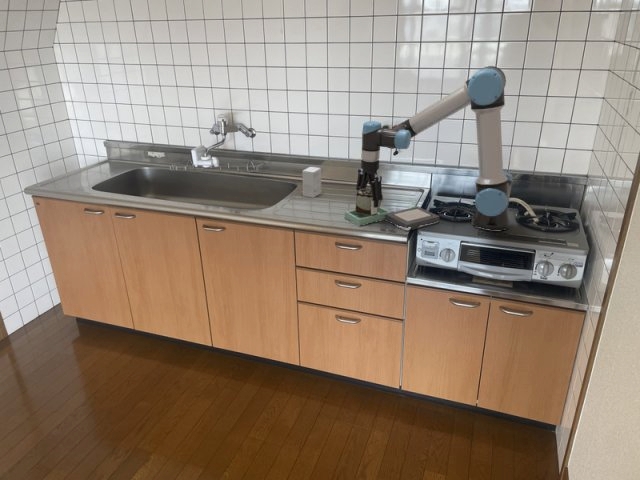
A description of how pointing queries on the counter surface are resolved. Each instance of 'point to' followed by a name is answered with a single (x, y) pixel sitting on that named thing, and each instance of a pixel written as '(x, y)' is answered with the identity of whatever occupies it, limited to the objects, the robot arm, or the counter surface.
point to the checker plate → (412, 215)
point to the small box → (311, 182)
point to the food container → (365, 202)
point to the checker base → (412, 224)
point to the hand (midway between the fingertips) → (367, 210)
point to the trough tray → (366, 216)
